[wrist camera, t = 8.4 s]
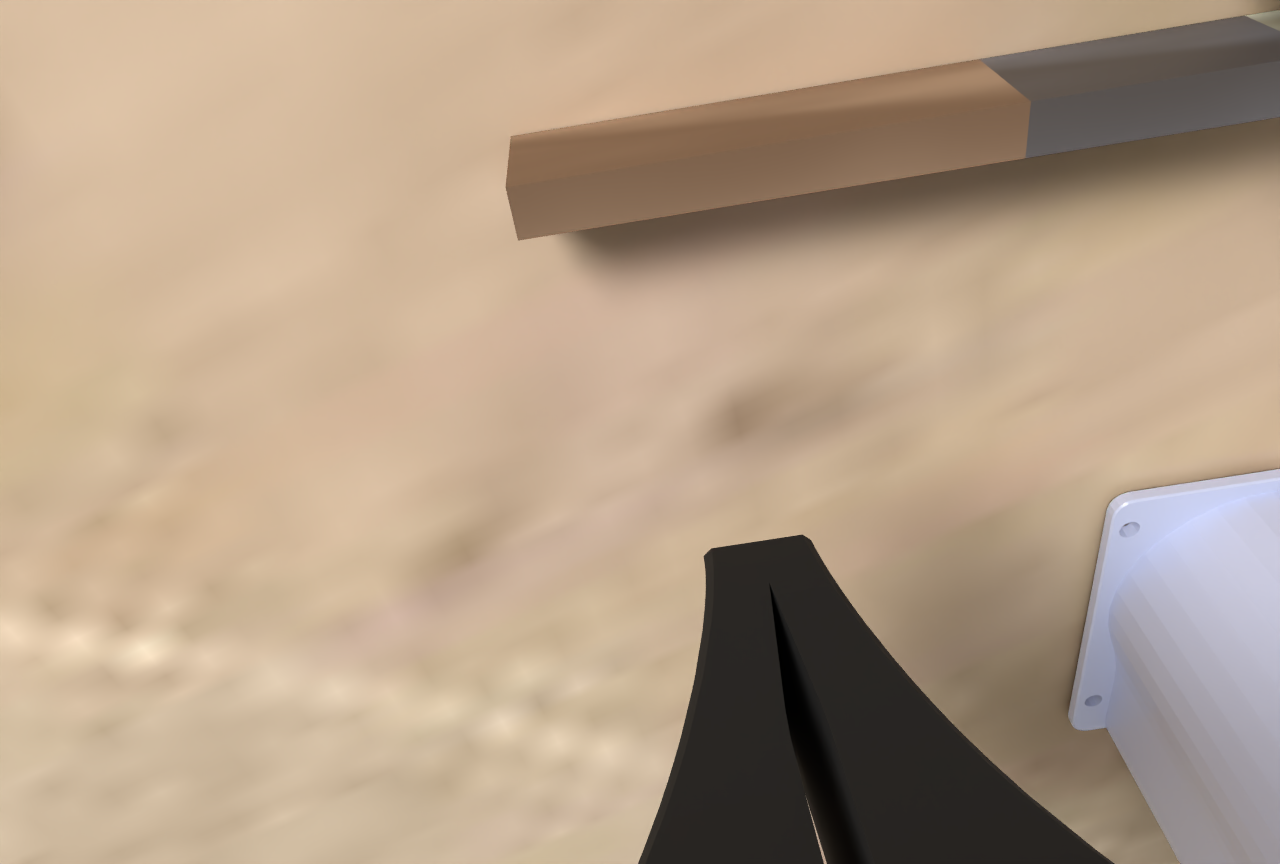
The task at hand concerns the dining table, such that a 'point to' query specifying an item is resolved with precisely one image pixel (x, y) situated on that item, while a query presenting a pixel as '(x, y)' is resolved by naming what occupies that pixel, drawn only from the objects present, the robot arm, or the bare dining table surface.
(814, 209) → the dining table surface
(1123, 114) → the trap channel
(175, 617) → the dining table surface
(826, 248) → the dining table surface
